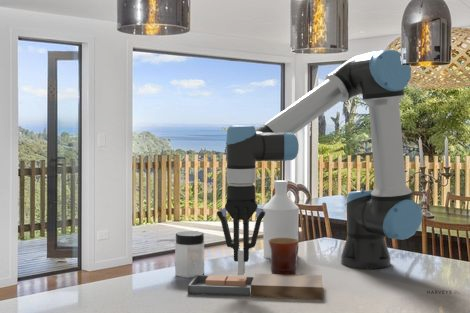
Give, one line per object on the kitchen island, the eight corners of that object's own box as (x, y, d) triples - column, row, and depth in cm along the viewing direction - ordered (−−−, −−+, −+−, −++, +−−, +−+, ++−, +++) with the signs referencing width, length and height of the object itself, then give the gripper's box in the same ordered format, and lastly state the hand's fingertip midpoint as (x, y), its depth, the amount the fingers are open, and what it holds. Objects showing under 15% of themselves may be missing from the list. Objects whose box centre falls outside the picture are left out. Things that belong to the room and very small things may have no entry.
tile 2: (247, 285, 160) (247, 276, 160) (245, 290, 155) (245, 281, 155) (228, 285, 161) (228, 275, 161) (226, 290, 156) (226, 280, 156)
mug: (289, 281, 167) (289, 244, 166) (262, 276, 172) (262, 241, 171) (309, 272, 177) (309, 238, 176) (284, 268, 182) (284, 234, 181)
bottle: (300, 252, 204) (300, 179, 203) (296, 260, 192) (296, 183, 191) (266, 251, 207) (266, 179, 205) (259, 258, 195) (259, 182, 194)
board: (321, 286, 161) (321, 275, 161) (322, 299, 149) (322, 287, 149) (255, 284, 163) (255, 273, 163) (250, 296, 152) (250, 285, 151)
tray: (253, 284, 163) (253, 276, 163) (249, 296, 152) (249, 287, 152) (196, 282, 165) (196, 275, 165) (187, 294, 154) (187, 285, 154)
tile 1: (208, 275, 161) (208, 284, 162) (205, 280, 156) (205, 289, 157) (227, 275, 161) (227, 285, 161) (224, 280, 156) (224, 290, 156)
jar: (180, 279, 169) (179, 237, 169) (170, 272, 177) (170, 232, 176) (209, 275, 173) (209, 234, 172) (199, 269, 180) (199, 230, 180)
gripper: (267, 183, 159) (267, 271, 161) (218, 182, 161) (219, 269, 162) (264, 186, 152) (264, 278, 153) (214, 185, 154) (214, 276, 155)
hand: (241, 273), depth 158 cm, fingers closed
